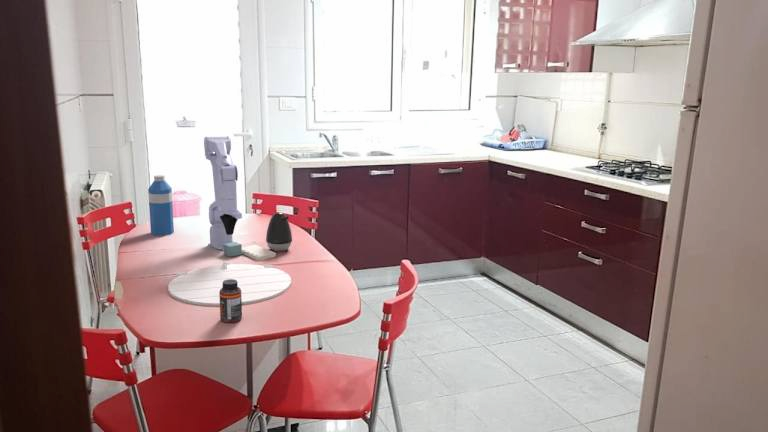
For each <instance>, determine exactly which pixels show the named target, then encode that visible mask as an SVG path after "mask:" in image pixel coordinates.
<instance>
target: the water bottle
mask: <svg viewBox="0 0 768 432" xmlns="http://www.w3.org/2000/svg"><path fill="white" fill-rule="evenodd" d="M165 177H166V176H165V175H163V174H161V175H160V174H155V175H154V176H153V178H154V179H153V182H152V183H151V185H150V186H149V187H148V190H147V191H148V206H149V221H150V223H149V224H150V226H149V227H150V235H152V236H156V237H157V236H159V237H160V236H162V237H163V236H169V235H172V234H173V233H174V232H175V229H174V228H175V227H174V226H175V225H174V208H173V190H172V189H173V188H172V186H171V185H170V184H169V183H168V182H167V181H166V179H165Z"/></svg>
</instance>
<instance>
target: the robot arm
mask: <svg viewBox="0 0 768 432" xmlns="http://www.w3.org/2000/svg"><path fill="white" fill-rule="evenodd" d="M203 147H204V148H203V149H204V156H205V159H206V160H209V161H210V165H211V169H212V177H213V179H212V180H213V191H214V192H213V193H214V201H213V202H212V203H211V204H209V207H208V218H209V223H210V224H211V226H210V228H209V242H210V243H208V244H207V245H208V246H210V247H212V248H215V249H216V250H219V251H220V250H223V244H225V243H231V242H234V241H233V240H234V239H233V234H234V231H235V227H236V224H237V222H238V220H240V219H242V218H243V213H242V212H240V211H239V210H238V205H237V204H238V200H237V199H238V197H237V181H238V177H239V173H238V168H237V167H238V166H237V165H236V164H234V162H233V159H232V157H231V156H230V155H231V150H232V142H231V138H230V136H228V135H227V136H204V137H203Z"/></svg>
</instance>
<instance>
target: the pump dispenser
mask: <svg viewBox="0 0 768 432" xmlns="http://www.w3.org/2000/svg"><path fill="white" fill-rule="evenodd" d="M289 219H290V217H289V216H286V215H285V214H284V213H283V212H281V211H277V212H275V213H273V214H272V216H271V218H270V219H269V223H268V224H267V225H268V226H267V229H266V234H265V235H266V237H265V243H266V244H267V246H268V248H269V249H270V251H272V252H284V251H286V250H288V249H289V248H290V247H291V244H292V242H293V233H292V229H291V225H290V222H289Z"/></svg>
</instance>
